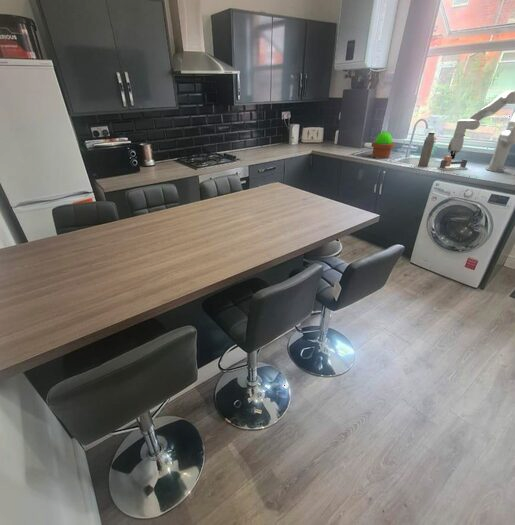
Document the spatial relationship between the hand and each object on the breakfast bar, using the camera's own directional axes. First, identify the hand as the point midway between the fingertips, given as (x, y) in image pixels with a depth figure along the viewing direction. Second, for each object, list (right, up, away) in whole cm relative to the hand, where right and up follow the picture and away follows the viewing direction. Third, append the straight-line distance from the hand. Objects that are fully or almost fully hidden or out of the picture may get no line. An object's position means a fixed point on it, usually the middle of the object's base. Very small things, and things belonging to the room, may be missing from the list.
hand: (451, 158), depth 254 cm
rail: (+3, -7, +5) cm, 9 cm away
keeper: (-4, -5, +2) cm, 7 cm away
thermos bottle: (-16, -1, +16) cm, 23 cm away
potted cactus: (-39, +22, +55) cm, 71 cm away
